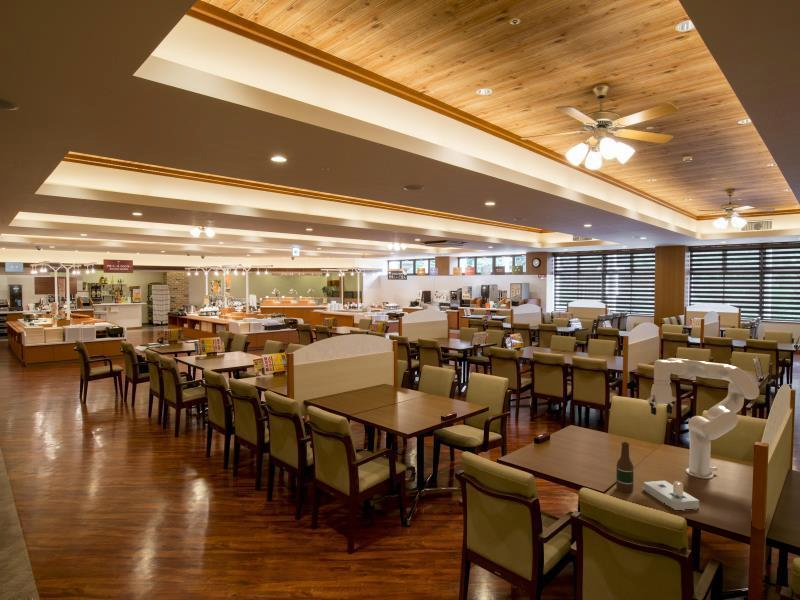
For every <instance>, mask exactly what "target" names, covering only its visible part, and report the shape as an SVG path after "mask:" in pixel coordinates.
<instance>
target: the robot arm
mask: <svg viewBox="0 0 800 600" xmlns="http://www.w3.org/2000/svg"><path fill="white" fill-rule="evenodd" d="M653 362H654V363H653V366H654V367H653V384H652V386H651V389H650V390H651V391H650V397H648V398H647V399H646V401H647V404H648V405H649V407H650V414H652V415H654V416H657V405H666V404H667V405H666V413H667V414H670V415H671V414H673V407H674V405H675V403H676V401H677V397H675V396H673V394H672V387H671V386H672V385H671V384H670V383H672V380H671V374H673V375H685V374H689V375H692V376H696V377H700V378H703V379H704V378H706V379H716V380H722V381H723V380H724V381H727V382H729V383H728V386H727V390H728V391H727V396H726V397H725V398H724V399H722V401H719V402H718V403H716V404H715V405H713V406H712V407H710V408H709V409H708V410H707V412H706V415H707V416H706V417H704V416H701V415H694V416H692V417H690V419H689V420H688V432H689V462H688V463H689V464H688V465H689V467H687V468H686V469H685V472H686V474H687V475H689V476H691V477H694V478H698V479H713V478H714V473H713V471H714V472H715V471H718V469H719V468H718V467H717V466H712V465H711V446H712V445H711V444H712V443H711V441H714V440H717V439H719V438H720V437H722V436H723V435H725V434H727V433H728V432H730V431H731V430H733V429H735V427H736V426H737V425H738V423H739V416H738V415H737V413H738V412H739V411H741V409H742V408H743V407H744V403H745V399H746V400H756V399H757V398H758V397H759V396H760V388H759V387H758V385H757V384H756V383H755V382H754V380H752V379H751V377H750V376H749V375H748V374H747V373H746V372H745V371H744V370H743V369H741V367H738V366H734V365H731V364H727V363H717V362H709V361H708V362H707V361H700V360H691V359H684V358H675V357H669V358H666V359H656V360H654V361H653Z"/></svg>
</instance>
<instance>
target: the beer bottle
mask: <svg viewBox="0 0 800 600" xmlns="http://www.w3.org/2000/svg"><path fill="white" fill-rule="evenodd" d="M620 445H621V452H620V457H619V458H618V460H617V462H616V472H615V473H616V474H615V475H616V477H615V478H616V480H615V481H616V483H615V484H616V485H615V486H616V488H617V490H618V491H619V492H622V493H629V494H630V493H632V492H634V471H635V470H634V465H633V461H631V459H630V443H629V442H627V441H622V442H621V444H620Z"/></svg>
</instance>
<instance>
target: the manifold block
mask: <svg viewBox="0 0 800 600" xmlns="http://www.w3.org/2000/svg"><path fill="white" fill-rule="evenodd" d="M642 490H643V491H644V492H646V493H647V494H649V495H651V496H652V497H653V498H655V499H656V500H658V501H660V502H661V503H663V504H664V503H665V504H664V505H666V506H667V505H668V506H667V507H669V506H670V507H672V508H673V509H675V510H682V511H686V510H685V509H693V510H698V509H697V508H699V509H700V500H699V499H697V498H696V497H694V496H692V495H691V494H689V493H687V492H685V491H684V490H683V498H680V499H677V498H675V497H673V483H672V484H671V483H670V482H668V481H667V480H655V481H643V489H642ZM670 507H669V508H670ZM672 508H671V509H672ZM694 508H695V509H694ZM673 509H672V510H673ZM675 510H674V511H675Z"/></svg>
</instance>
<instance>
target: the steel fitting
mask: <svg viewBox="0 0 800 600" xmlns="http://www.w3.org/2000/svg"><path fill="white" fill-rule="evenodd" d="M672 485H673V497H675V498H677V499H680V498H683V491H684V483H683V482H681V481H676V480H675V481H673V483H672Z"/></svg>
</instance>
